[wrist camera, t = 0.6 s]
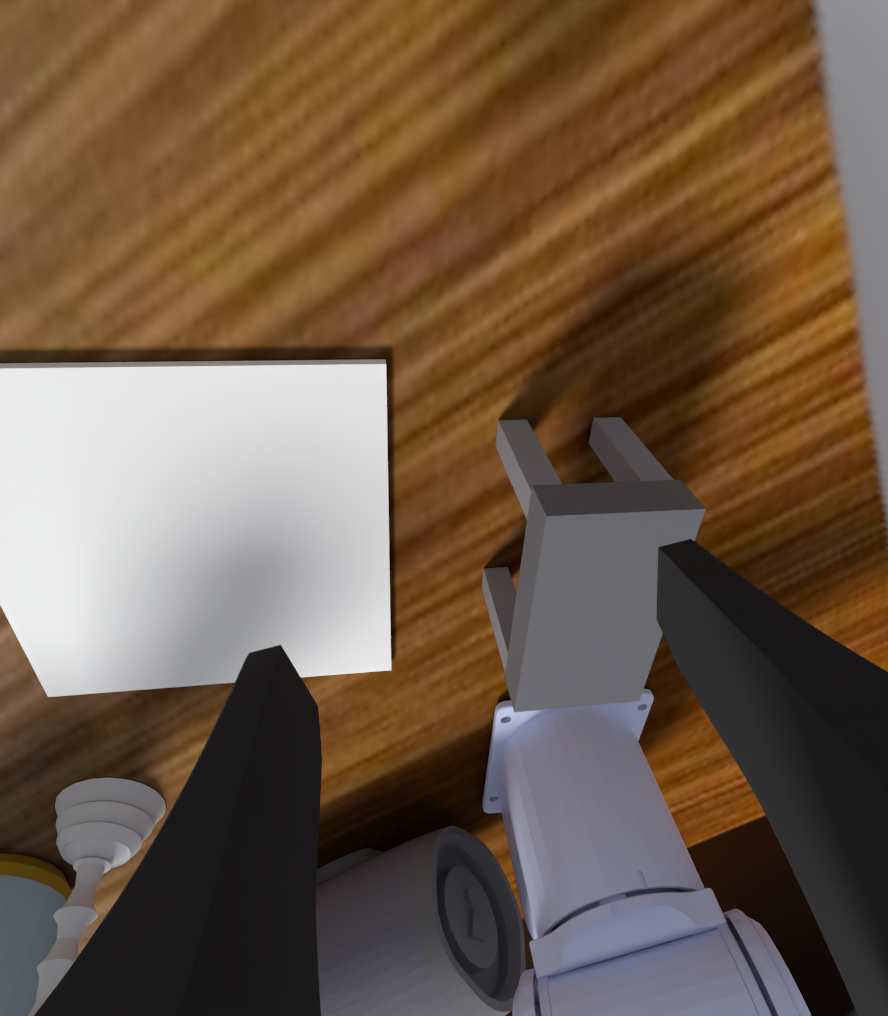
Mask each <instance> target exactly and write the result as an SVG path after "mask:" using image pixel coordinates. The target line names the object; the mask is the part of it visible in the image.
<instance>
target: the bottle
mask: <svg viewBox="0 0 888 1016" xmlns="http://www.w3.org/2000/svg"><path fill="white" fill-rule="evenodd" d="M71 893H72V891H71V889H70V887H69V885H68V883H67V881H66V878H65V876H64V874H63V873H62V872H61V871H60V870H59V869H57V868H56V867H55V866H54V865H52V864H50V863H47V862H45V861H42V860H40V859H38V858H33V857H28V856H24V855H20V854H6V853H0V1016H29V1014H30V1012H31V1010H32V1008H33V1006H34V1004H35V1001H36V996H37V990H38V984H39V975H38V971H37V966H38V965H39V964H40V963H41V962H42V961H43V960H44V959H45V958H46V957H47V956H48V954H49V952H50V951H51V949H52V947H53V946H54V944H55V942H56V941H57V929H58V925H57V923H56V921H55V919H54V917H53V915H54V913H55V912H56V911H57V910H58V909H60V908H61V907H63V906H64V905H65V904H66V902H67V900H68V898H69V897H70V895H71Z"/></svg>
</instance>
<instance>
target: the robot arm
mask: <svg viewBox="0 0 888 1016" xmlns="http://www.w3.org/2000/svg"><path fill="white" fill-rule="evenodd" d="M656 619H657V622H658V624H659V626H660V628H661V630H662V633H663V635H664V637H665V639H666V642H667V644H668V646H669V648H670V650H671V652H672V655H673V657H674V659H675V661H676V663H677V665H678V667H679V669H680V671H681V672H682V674H683V676H684V677H685V679H686V681H687V682H688V684H689V686H690V687H691V689H692V691H693V692H694V694H695V696H696V697H697V699H698V701H699V702H700V704H701V706H702V707H703V709H704V710H705V712H706V714H707V715H708V717H709V719H710V720H711V722H712V723H713V725H714V727H715V728H716V730H717V732H718V733H719V735H720V736H721V738H722V740H723V741H724V743H725V745H726V746H727V748H728V749H729V751H730V753H731V754H732V756H733V758H734V759H735V761H736V762H737V764H738V766H739V767H740V769H741V771H742V772H743V774H744V775H745V777H746V779H747V781H748V783H749V784H750V786H751V788H752V790H753V791H754V793H755V795H756V797H757V799H758V800H759V802H760V804H761V806H762V808H763V810H764V812H765V814H766V816H767V818H768V820H769V823H770V825H771V826H772V829H773V830H774V833H775V835H776V837H777V839H778V840H779V843H780V845H781V847H782V849H783V851H784V853H785V855H786V857H787V859H788V861H789V863H790V865H791V868H792V869H793V872H794V874H795V876H796V878H797V880H798V882H799V884H800V886H801V888H802V891H803V893H804V895H805V897H806V899H807V901H808V903H809V906H810V907H811V910H812V912H813V914H814V916H815V918H816V920H817V923H818V925H819V927H820V930H821V932H822V933H823V936H824V938H825V941H826V943H827V945H828V947H829V950H830V952H831V954H832V956H833V958H834V960H835V963H836V965H837V967H838V969H839V972H840V974H841V976H842V978H843V981H844V983H845V985H846V988H847V990H848V992H849V995H850V997H851V999H852V1001H853V1004H854V1006H855V1008H856V1011H857V1013H858V1016H888V672H887V671H885V670H884V669H882V668H880V667H878V666H877V665H875V664H873V663H871V662H870V661H868V660H866V659H865V658H863V657H861V656H860V655H858V654H856V653H855V652H853V651H852V650H850V649H848V648H847V647H845V646H843V645H842V644H840V643H839V642H837V641H835V640H834V639H832V638H831V637H829V636H827V635H826V634H824V633H823V632H821V631H820V630H818V629H817V628H815V627H814V626H812V625H811V624H809V623H807V622H806V621H805V620H803V619H802V618H800V617H799V616H797V615H796V614H794V613H793V612H791V611H790V610H788V609H787V608H785V607H784V606H783V605H781V604H780V603H778V602H777V601H775V600H774V599H772V598H771V597H769V596H768V595H767V594H765V593H764V592H762V591H761V590H760V589H758V588H757V587H755V586H754V585H753V584H751V583H750V582H749V581H747V580H746V579H745V578H743V577H742V576H740V575H739V574H738V573H736V572H735V571H734V570H732V569H731V568H730V567H728V566H727V565H726V564H724V563H723V562H722V561H720V560H719V559H718V558H716V557H715V556H714V555H712V554H711V553H710V552H708V551H707V550H706V549H704V548H703V547H702V546H700V545H699V544H698V543H696V542H695V541H693V540H692V539H688V540H684V541H680V542H676V543H673V544H669V545H665V546H661V547H658V578H657V616H656ZM653 700H654V696H653V694H652V692H651V691H650V690H649V689H643V692H642V695H641V698H640V701H635V702H624V703H613V704H602V705H591V706H580V707H568V708H557V709H546V710H535V711H524V712H514V709H513V706H512V702H511V700H507V701H502V702H500V703H499V704H498V705H497V706H496V708H495V714H494V721H493V729H492V736H491V743H490V751H489V758H488V765H487V773H486V780H485V787H484V795H483V802H482V806H483V811H484V812H486V813H500V812H501V813H502V818H503V822H504V827H505V832H506V836H507V841H508V846H509V850H510V855H511V860H512V864H513V869H514V874H515V878H516V883H517V888H518V892H519V897H520V902H521V906H522V911H523V915H524V919H525V922H526V925H527V928H528V930H529V932H530V934H531V936H532V938H533V940H532V941H530V943H529V944H530V949H531V953H532V958H533V963H534V967H535V968H534V969H530V970H526V971H524V972H523V973H522V974H521V977H520V980H519V985H518V988H517V990H516V992H515V995H514V999H513V1016H811V1014H810V1012H809V1010H808V1008H807V1006H806V1003H805V1001H804V1000H803V997H802V995H801V993H800V991H799V989H798V987H797V985H796V983H795V981H794V980H793V978H792V976H791V974H790V972H789V970H788V968H787V966H786V965H785V963H784V961H783V959H782V957H781V955H780V954H779V952H778V950H777V948H776V947H775V945H774V944H773V942H772V940H771V939H770V937H769V935H768V934H767V932H766V931H765V930H764V928H763V927H762V926H761V925H760V924H759V923H758V922H756V921H754V920H753V919H751V918H749V917H747V916H745V915H744V913H743V912H741V911H740V910H738V909H733V910H730V911H728V912H725V913H724V915H723V913H722V911H721V909H720V906H719V905H718V902H717V900H716V898H715V896H714V893H713V891H712V889H710V888H706V889H704V887H703V884H702V882H701V880H700V878H699V875H698V873H697V871H696V869H695V866H694V864H693V862H692V860H691V858H690V855H689V853H688V851H687V849H686V846H685V844H684V842H683V840H682V838H681V835H680V833H679V831H678V829H677V826H676V824H675V822H674V820H673V818H672V815H671V813H670V811H669V809H668V806H667V804H666V802H665V800H664V798H663V795H662V793H661V791H660V789H659V786H658V784H657V782H656V780H655V778H654V775H653V773H652V771H651V769H650V766H649V764H648V762H647V760H646V758H645V755H644V753H643V751H642V749H641V746H640V744H639V742H638V741H639V738H640V735H641V733H642V730H643V727H644V725H645V722H646V719H647V716H648V714H649V711H650V708H651V705H652V703H653ZM321 767H322V755H321V739H320V726H319V714H318V706H317V704H316V702H315V701H314V699H313V697H312V696H311V694H310V692H309V691H308V689H307V687H306V686H305V684H304V682H303V681H302V679H301V677H300V676H299V674H298V672H297V671H296V669H295V667H294V666H293V664H292V662H291V661H290V659H289V657H288V656H287V654H286V652H285V651H284V649H283V647H282V646H281V645H278V646H274V647H270V648H266V649H262V650H258V651H254V652H251V653H249V654H248V656H247V657H246V659H245V661H244V663H243V666H242V668H241V670H240V672H239V674H238V677H237V679H236V681H235V683H234V685H233V688H232V690H231V692H230V694H229V696H228V699H227V701H226V703H225V705H224V707H223V709H222V711H221V714H220V716H219V718H218V720H217V722H216V724H215V726H214V728H213V731H212V733H211V735H210V737H209V739H208V741H207V743H206V745H205V747H204V749H203V751H202V753H201V755H200V757H199V759H198V761H197V763H196V765H195V767H194V769H193V771H192V773H191V775H190V777H189V778H188V780H187V782H186V784H185V786H184V788H183V790H182V791H181V793H180V795H179V797H178V799H177V800H176V802H175V804H174V806H173V808H172V810H171V811H170V813H169V815H168V817H167V819H166V821H165V822H164V824H163V826H162V828H161V829H160V831H159V833H158V835H157V836H156V838H155V840H154V841H153V843H152V845H151V846H150V848H149V850H148V852H147V853H146V855H145V856H144V858H143V860H142V861H141V863H140V865H139V866H138V868H137V869H136V871H135V873H134V874H133V876H132V877H131V879H130V880H129V882H128V884H127V885H126V887H125V888H124V890H123V892H122V893H121V895H120V896H119V898H118V899H117V901H116V902H115V904H114V905H113V907H112V908H111V910H110V911H109V912H108V914H107V915H106V917H105V918H104V920H103V921H102V923H101V924H100V926H99V927H98V929H97V930H96V932H95V933H94V934H93V936H92V937H91V939H90V940H89V942H88V943H87V945H86V946H85V948H84V949H83V950H82V952H81V953H80V955H79V956H78V957H77V959H76V960H75V962H74V963H73V964H72V966H71V967H70V969H69V970H68V971H67V973H66V974H65V975H64V977H63V978H62V979H61V981H60V982H59V983H58V985H57V986H56V987H55V989H54V990H53V991H52V992H51V994H50V995H49V996H48V998H47V999H46V1000H45V1002H44V1003H43V1004H42V1006H41V1007H40V1008H39V1009H38V1011H37V1012H36V1013H35V1015H34V1016H321V1008H320V991H319V975H318V953H317V929H316V876H317V855H318V835H319V814H320V792H321Z"/></svg>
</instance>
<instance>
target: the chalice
mask: <svg viewBox="0 0 888 1016" xmlns="http://www.w3.org/2000/svg"><path fill="white" fill-rule="evenodd" d="M55 809H56V813H57V816H58V818H57V821H56V829H57V833H58V836H57V841H56V844H57V846H58V849H59V851H60V854H61V856H62V858H63V859H64V860H65V861H66V862H68V863H69V864H72V865H73V868H74V870H75V871H76V872H77V876H76V883H75V888H74V890H73V891H72V893H71V895H70V897H69V898H68V900H67V902H66V904H65V905H64V906H63V907H61V908H60V909H58V910H57V911H56V912H55V913H54V915H53V917H54V919H55V921H56V923H57V925H58V929H57V941H56V942H55V944H54V946H53V947H52V949H51V951H50V952H49V954H48V956H47V957H46V958H45V959H44V960H43V961H42V962H41V963H40V964H39V965H38V966H37V971H38V975H39V984H38V990H37V996H36V1001H35V1004H34V1006H33V1008H32V1010H31V1012H30V1014H29V1016H34V1015H35V1013H36V1012H37V1011H38V1009H39V1008H40V1007H41V1006H42V1004H43V1003H44V1002H45V1000H46V999H47V998H48V996H49V995H50V994H51V992H52V991H53V990H54V989H55V987H56V986H57V985H58V983H59V982H60V981H61V979H62V978H63V977H64V975H65V974H66V973H67V971H68V970H69V969H70V967H71V966H72V964H73V963H74V962H75V960H76V959H77V953H78V941H79V939H80V938H81V936H82V934H83V932H84V931H85V929H86V927H87V926H88V925H90V924H91V923H92V922H93V921H95V920H96V919H97V917H98V914H97V912H96V910H95V908H94V907H93V903H94V894H95V887H96V886H97V884H98V882H99V880H100V878H101V876H102V874H104V873H106V872H108V871H109V870H110V868H113V867H118V866H120V865H122V864H124V863H125V862H127V861H128V860H129V859H130V858H131V857H132V856H133V855H135V854H136V853H137V852H138V851H139V850H140V848H141V845H142V842H143V841H144V840H145V839H146V838H147V837H148V836H149V835H150V834H151V832H152V829H153V826H154V825H155V824H156V823H157V822H158V821H159V820H160V819H161V818H162V817H163V816H164V813H165V810H166V805H165V802H164V799H163V798H162V797H161V795H160V794H159V793H158V792H157V791H156V790H154V789H152V788H150V787H148V786H146V785H145V784H142V783H139V782H135V781H132V780H128V779H119V778H94V779H88V780H84V781H81V782H77V783H74V784H72V785H71V786H69V787H67V788H65V789H63V790H62V792H61V793H60V794H59V795H58V796H57V797H56V802H55Z"/></svg>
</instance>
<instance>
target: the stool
mask: <svg viewBox="0 0 888 1016" xmlns="http://www.w3.org/2000/svg"><path fill="white" fill-rule="evenodd" d="M589 445H590V446H591V448H592V449H593V450H594V452H595V453H596V455H597V456H598V458H599V459H600V461H601V462H602V464H603V465H604V466H605V468H606V469H607V471H608V472H609V474H610V475H611V477H612V478H613V479H614V481H615V482H605V483H580V484H562V483H561V481H560V479H559V477H558V475H557V474H556V472H555V470H554V468H553V466H552V465H551V463H550V461H549V459H548V457H547V455H546V454H545V452H544V450H543V448H542V446H541V445H540V443H539V441H538V439H537V437H536V436H535V434H534V432H533V430H532V428H531V426H530V425H529V423H528V421H527V420H498V427H497V437H496V448H497V450H498V453H499V455H500V458H501V460H502V462H503V465H504V467H505V469H506V472H507V474H508V476H509V479H510V481H511V484H512V486H513V488H514V491H515V493H516V495H517V498H518V500H519V503H520V505H521V507H522V510H523V512H524V514H525V517H526V519H527V524H526V531H525V538H524V545H523V552H522V559H521V566H520V573H519V580H518V587H517V593H516V590H515V587H514V584H513V581H512V578H511V575H510V572H509V569H508V567H502V568H484V569H483V579H482V590H483V594H484V597H485V601H486V605H487V608H488V612H489V616H490V619H491V623H492V626H493V630H494V634H495V637H496V641H497V645H498V648H499V652H500V656H501V659H502V663H503V667H504V670H505V680H506V684H507V687H508V691H509V695H510V698H511V702H512V706H513V709H514V712H524V711H535V710H546V709H557V708H568V707H580V706H591V705H602V704H613V703H624V702H635V701H640V698H641V695H642V692H643V689H644V686H645V683H646V680H647V678H648V675H649V672H650V669H651V666H652V663H653V660H654V657H655V654H656V652H657V649H658V646H659V643H660V640H661V637H662V634H663V633H662V630H661V628H660V626H659V624H658V622H657V619H656V616H657V578H658V547H661V546H665V545H669V544H673V543H676V542H680V541H684V540H688V539H692V540H693V541H695V539H696V536H697V533H698V530H699V527H700V524H701V521H702V518H703V516H704V513H705V510H706V509H705V507H704V506H703V505H702V504H701V503H700V502H699V501H698V499H697V498H696V497H695V496H694V495H693V494H692V492H691V491H690V490H689V489H688V488H687V487H686V485H685V484H684V483H683V482H682V481H681V480H674V479H673V478H672V477H671V476H670V475H669V474H668V472H667V471H666V470H665V469H664V468H663V466H662V465H661V464H660V463H659V462H658V461H657V459H656V458H655V457H654V456H653V455H652V453H651V452H650V451H649V450H648V449H647V448H646V446H645V445H644V444H643V443H642V442H641V441H640V439H639V438H638V437H637V436H636V435H635V433H634V432H633V431H632V430H631V429H630V428H629V426H628V425H627V424H626V423H625V422H624V420H623V419H622V418H621V417H609V418H593V423H592V428H591V433H590V438H589Z"/></svg>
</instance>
